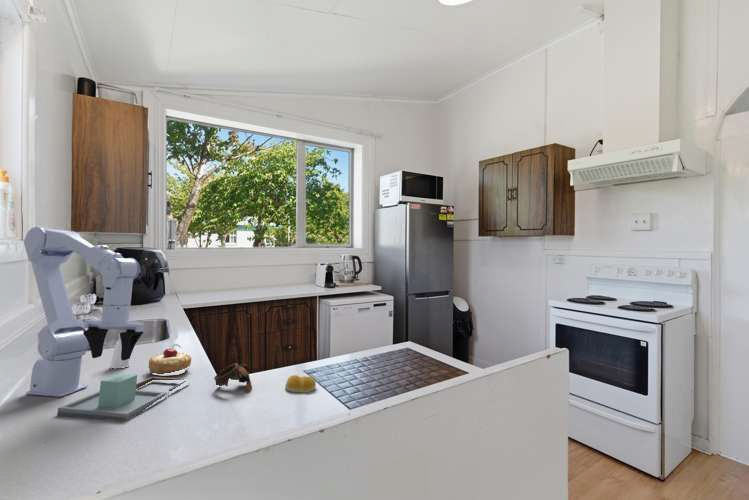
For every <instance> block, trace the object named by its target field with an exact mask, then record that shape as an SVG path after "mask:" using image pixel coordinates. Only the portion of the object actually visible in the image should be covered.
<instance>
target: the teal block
mask: <svg viewBox="0 0 749 500" xmlns="http://www.w3.org/2000/svg"><path fill="white" fill-rule="evenodd" d="M137 381H138V374H132V373H131V374H130V373H118V374H115V375H112V376H110V377H107V378H103V379H102V380H100V386H99V391H100V393H99V402H98V407H108V408H118V407H120V406H122V405H124V404H126V403H128V402H130V401H132V400H134V399H135V392H136V384H137V383H138V382H137Z"/></svg>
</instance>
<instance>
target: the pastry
mask: <svg viewBox="0 0 749 500" xmlns="http://www.w3.org/2000/svg"><path fill="white" fill-rule="evenodd" d="M174 346H178V347H179V349H182V347H181V346H180V345H179V344H177V343H175V344H173V345H172V348H166V349H165V350H164V351H163V353H161V354H156V355H152V357H150V358H149V360H148V368H149V372H150V373H151V372H152V373H157V374H164V373H171V372H175V371H179V370H182V369H185V368H187V367H188V366H189V367H191V364H192V357H191V355H190V354H187V353H186V354H185V353H180V352H178V350H176V349H174ZM152 373H151V374H152Z"/></svg>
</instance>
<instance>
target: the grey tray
mask: <svg viewBox="0 0 749 500" xmlns="http://www.w3.org/2000/svg"><path fill="white" fill-rule="evenodd" d="M99 393H100V390H98V391H95V392H94V393H91V394H89V395H86V396H84V397H81V398H79V399H76V400H73V401H72V402H69V403H66V404H65V405H62V406H60V407H58V408H57V416H61V417H62V416H64V417H71V418H73V417H74V418H85V419H97V420H105V421H106V420H108V421H118V422H119V421H120V422H128V421H130V420H131V419H133V418H135V417H136V416H138V415H139V414H138V413H140V412H142V411H143V410H145V409H146V408H147V407H149V406H150V405H152V404H153V403H154V402H156V401H157V400H159V399H161V398H162V397H164V396H165V395H166V396H167V395H168V393H167V392H166V391H156V390H155V391H154V390H145V389H144V390H143V389H138V390H136V392H135V399H134V400H132V401H130V402H128V403H126V404H124V405H122V406H120V407H118V408H108V407H98V402H99ZM145 411H146V410H145ZM143 412H144V411H143ZM143 412H142V413H143ZM137 414H138V415H137ZM140 414H141V413H140ZM135 415H136V416H135ZM134 416H135V417H134ZM132 417H133V418H132Z"/></svg>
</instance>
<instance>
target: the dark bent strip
mask: <svg viewBox="0 0 749 500" xmlns="http://www.w3.org/2000/svg"><path fill="white" fill-rule="evenodd" d="M152 380H184V378H174V377H163V376H151V377H148V378H146V379H144V380H142V381H139V382H137V383H136V389H137V388H139V387H141V386H143V385H145V384H146V383H148V382H150V381H152ZM184 382H186V381H184ZM184 382H182V383H180V384H178V385H175V386H173V387H171V388H169V389H168V392H169V391H172V390H173V389H175V388H176V387H178V386H180V385H181V384H183V383H184Z"/></svg>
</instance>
